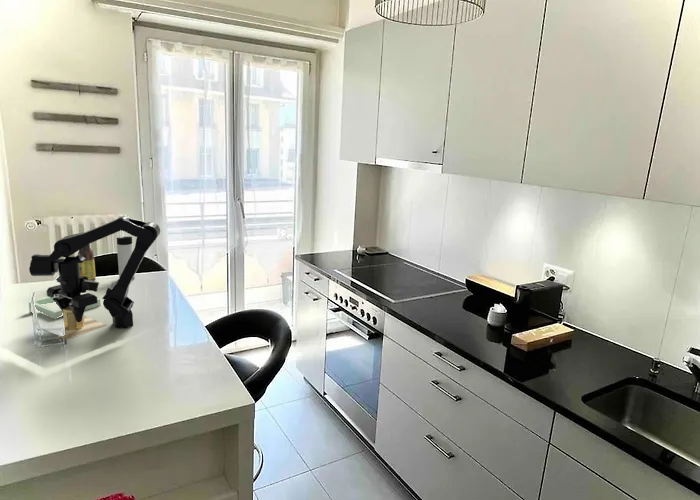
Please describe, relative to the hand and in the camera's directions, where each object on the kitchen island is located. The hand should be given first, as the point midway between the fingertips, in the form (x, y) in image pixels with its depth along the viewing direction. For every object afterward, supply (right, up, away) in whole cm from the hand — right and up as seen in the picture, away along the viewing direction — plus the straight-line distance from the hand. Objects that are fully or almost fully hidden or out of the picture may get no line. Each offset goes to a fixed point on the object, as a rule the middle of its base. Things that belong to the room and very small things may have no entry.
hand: (74, 319), depth 150 cm
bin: (-13, +1, +16) cm, 21 cm away
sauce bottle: (-23, +9, +48) cm, 55 cm away
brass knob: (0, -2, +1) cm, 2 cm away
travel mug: (-9, +10, +54) cm, 56 cm away
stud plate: (0, -4, +1) cm, 4 cm away
